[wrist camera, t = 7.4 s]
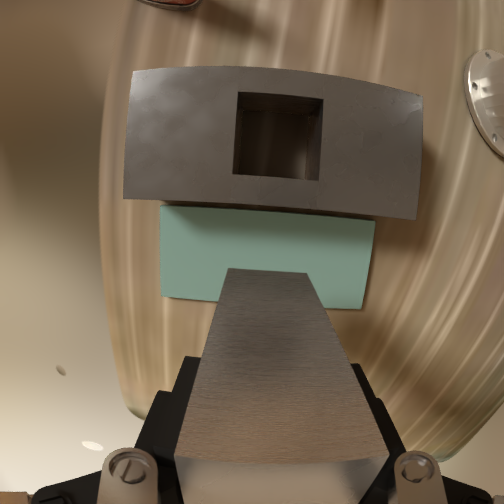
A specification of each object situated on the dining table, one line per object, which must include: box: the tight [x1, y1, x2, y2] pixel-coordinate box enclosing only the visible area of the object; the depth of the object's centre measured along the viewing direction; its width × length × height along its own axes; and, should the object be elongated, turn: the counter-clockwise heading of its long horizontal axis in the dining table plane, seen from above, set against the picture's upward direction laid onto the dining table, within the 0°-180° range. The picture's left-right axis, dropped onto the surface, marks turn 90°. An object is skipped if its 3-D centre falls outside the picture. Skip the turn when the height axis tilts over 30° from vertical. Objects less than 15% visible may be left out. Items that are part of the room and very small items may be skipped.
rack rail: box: [123, 66, 423, 220], centre depth 21 cm, size 20×9×6 cm, turn 86°
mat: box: [160, 205, 376, 309], centre depth 26 cm, size 18×8×1 cm, turn 86°
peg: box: [174, 268, 390, 504], centre depth 11 cm, size 4×4×12 cm
